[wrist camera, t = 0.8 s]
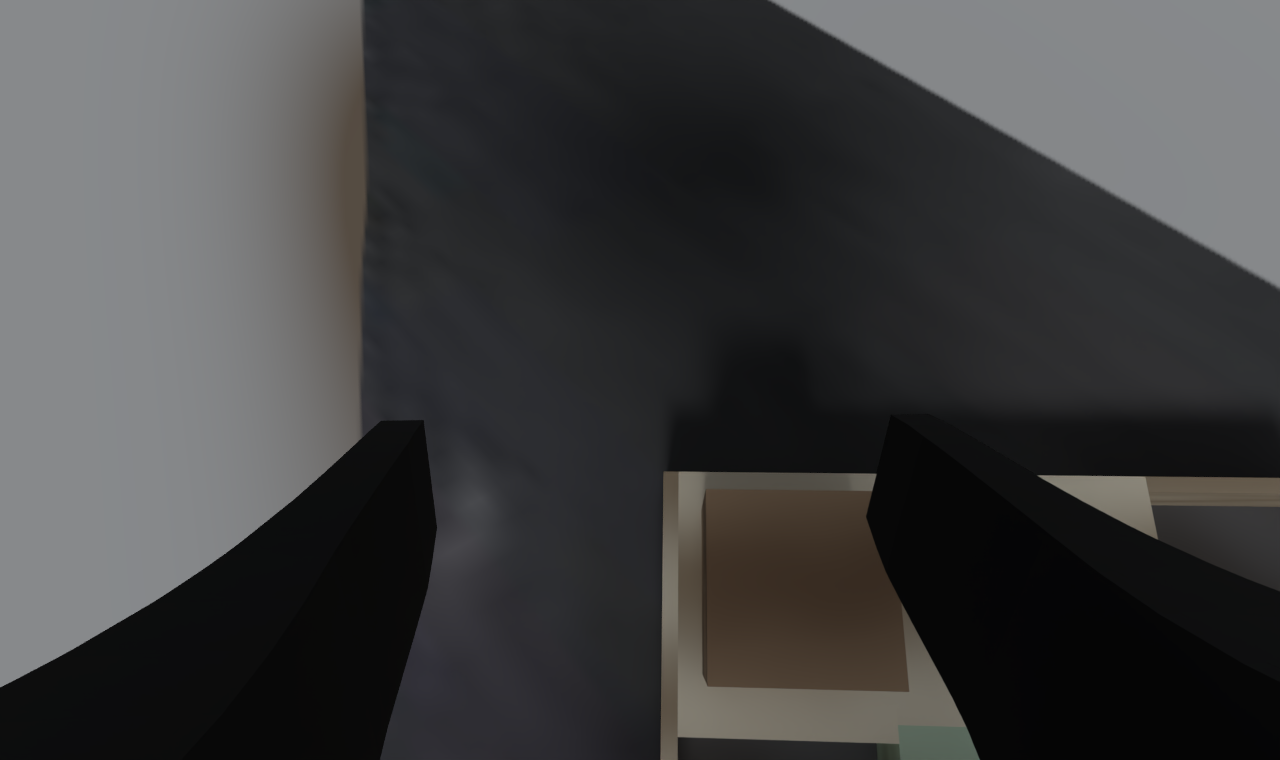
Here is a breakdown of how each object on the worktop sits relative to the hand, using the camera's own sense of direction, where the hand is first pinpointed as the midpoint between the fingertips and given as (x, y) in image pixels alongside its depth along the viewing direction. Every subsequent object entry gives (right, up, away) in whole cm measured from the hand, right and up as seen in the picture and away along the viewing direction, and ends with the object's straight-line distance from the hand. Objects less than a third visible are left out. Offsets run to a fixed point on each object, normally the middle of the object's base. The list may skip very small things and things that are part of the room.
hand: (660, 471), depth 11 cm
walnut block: (+4, -5, +11) cm, 13 cm away
